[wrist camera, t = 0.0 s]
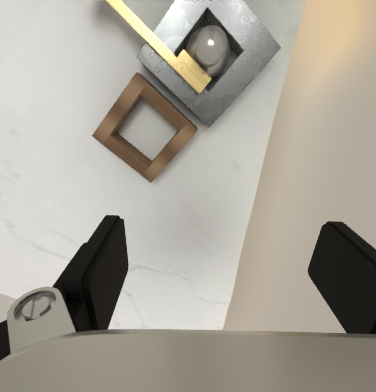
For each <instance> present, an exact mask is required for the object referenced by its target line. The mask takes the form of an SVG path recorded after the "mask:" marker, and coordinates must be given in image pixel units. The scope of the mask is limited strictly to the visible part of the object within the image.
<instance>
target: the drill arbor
mask: <svg viewBox="0 0 376 392" xmlns="http://www.w3.org/2000/svg"><path fill="white" fill-rule="evenodd" d="M186 52H187V53H188V54H189V55H190V57H191V58H192V59H193V60H194V61H195V62H196V63H197V64H198V65H199V66H200V67H201V68H202V69H203V70H204V71H205V72H206V73H207V74H208V75H209V76H210V78H212V77H214V76H216V75H217V74H219V73H220V72H221V71H222V70H223V69H224V68H225V66H226V64H227V62H228V59H229V55H230V47H229V42H228V40H227V37H226V34H225V32H224V31H223V30H222V29H221V28H220V27H218V26H215V25H209V26H205V27H202V28H200V29H198V30H196V31H195V32H194V33H193V34H192V36H191V37H190V39H189V41H188V44H187V48H186Z"/></svg>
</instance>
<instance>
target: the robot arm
mask: <svg viewBox="0 0 376 392" xmlns="http://www.w3.org/2000/svg"><path fill="white" fill-rule="evenodd" d="M127 271H128V255H127V246H126V236H125V227H124V220H123V219H120V217H119V216H116V215H106V216H105V217H104V219H103V220H102V222H101V223H100V224H99V226H98V227H97V229H96V230H95V232H94V233H93V235H92V236H91V238H90V239H89V240H88V242H87V243H84V244H83V245H82V246H81V247H80V249H79V250H78V251H77V253H76V254H75V256H74V257H73V258H72V260H71V261H70V263H69V264H68V265H67V267H66V268H65V270H64V271H63V273H62V274H61V275H60V277H59V278H58V280H57V281H56V282H55V284H54V285H53V287H42V288H38V289H35V290H32V291H30V292H28V293H26V294H24V295H23V296H21V297H20V298H19V299H17V300H16V301H15V302H14V303H13V305H11V307H10V309H9V311H8V313H7V320H5V321H3V322H1V323H0V392H376V250H375V249H374V248H373V247H372V246H371V245H370V244H368V243H367V242H366V241H365V240H363V239H362V238H361V237H360V236H358V234H356V233H355V232H354V231H353V230H351V229H350V228H349V227H348V226H347V225H346V224H344V223H343V222H331V221H329V222H327V223H326V224H324V225H323V226H322V228H321V231H320V234H319V237H318V240H317V243H316V246H315V249H314V252H313V255H312V258H311V261H310V265H309V267H308V274H309V276H310V278H311V280H312V281H313V283H314V284H315V285H316V287H317V289H318V290H319V292H320V293H321V295H322V296H323V298H324V299H325V301H326V302H327V304H328V305H329V307H330V308H331V310H332V312H333V313H334V315H335V316H336V318H337V319H338V321H339V322H340V324H341V325H342V327H343V328H344V330H345V331H346V333H312V332H273V331H271V332H270V331H229V330H228V331H227V330H173V329H111V330H107V329H108V326H109V324H110V321H111V318H112V315H113V312H114V309H115V306H116V303H117V300H118V298H119V295H120V292H121V289H122V286H123V283H124V280H125V277H126V275H127Z"/></svg>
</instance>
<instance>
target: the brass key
mask: <svg viewBox="0 0 376 392" xmlns="http://www.w3.org/2000/svg"><path fill="white" fill-rule="evenodd" d="M106 1H107V2H108V3H109V4H110V5H111V6H112V7H113V8H114V9H115V10H116V11H117V12H118V13H119V14H120V15H121V16H122V17H123V18H124V19H125V20H126V21H127V22H128V23H129V24H130V25H131V26H132V27H133V28H134V29H135V30H136V31H137V32H138V33H139V34H140V35H141V36H142V37H143V38H144V39H145V40H146V41H147V42H148V43H149V44H150V45H151V46H152V47H153V48H154V49H155V50H156V51H157V52H158V53H159V54H160V55H161V56H162V57H163V58H164V59H165V60H166V61H167V62H168V63H169V64H170V65H171V66H172V67H173V68H174V69H175V70H176V71H177V72H178V73H179V74H180V75H181V76H182V77H183V78H184V79H185V80H186V81H187V82H188V83H189V84H190V85H191V86H192V87H193V88H194V89H195V90H196V91H197V92H198V93H199V94H200V93H201V92H202V90H203V89H204V88H205V87H206V86H207V84H208V83H209V82H210V81H211V80H212V79H211V78H210V76H209V75H208V74H207V73H206V72H205V71H204V70H203V69H202V68H201V67H200V66H199V65H198V64H197V63H196V62H195V61H194V60H193V59H192V58H191V57H190V55H189V54H188V53H187V52H186V51H185V50H184V49H183V50H182V52H181V53H180V54H179V56H178V57H176V56H175V55H174V54H173V53H172V52H171V51H170V50H169V49H168V48H167V47H166V46H165V45H164V44H163V43H162V42H161V41H160V40H159V39H158V38H157V37H156V36H155V35H154V34H153V33H152V32H151V31H150V30H149V29H148V28H147V27H146V26H145V24H144V23H143V22H142V21H141V20H140V19H139V18H138V17H137V16H136V15H135V14H134V13H133V12H132V11H131V10H130V9H129V8H128V7H127V6H126V5H125V4H124V3H123V2H122V1H121V0H106Z"/></svg>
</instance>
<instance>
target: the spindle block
mask: <svg viewBox="0 0 376 392" xmlns="http://www.w3.org/2000/svg"><path fill="white" fill-rule="evenodd" d="M205 17H206V18H207V19H208V20H209V22H210V23H211V24H212V25H215V26H218V27H220V28H221V29H222V30H223V31H224V32H225V34H226V37H227V40H228V42H229V45H230V46H231V47H232V48H233V49H234V50H235V51H236V53H237V54H238V56H237V57H236V58H235V60H234V61H233V62H232V63H231V64H230V65H229V67H228V68H227V69H226V70H225V71H224V73H223V74H222V75H221V76H220V77H219V79H218V80H217V81H216V82H215V83H214V84H213V86H212V87H211V88H210V89H209V90H208V91H207V90H206V89H205V88H204V89H203V90H202V92H201V93H200V94H199V93H198V92H197V91H196V90H195V89H194V88H193V87H192V86H191V85H190V84H189V83H188V82H187V81H186V80H185V79H184V78H183V77H182V76H181V75H180V74H179V73H178V72H177V71H176V70H175V69H174V68H173V67H172V66H171V65H170V64H169V63H168V62H167V61H166V60H165V59H164V58H163V57H162V56H161V55H160V54H159V53H158V52H157V51H156V50H155V49H154V48H153V47H152V46H151V45H150V44H149V43H148V42H146V44H145V45H144V47H143V48H142V50H141V51H140V53H139V54H138V55H137V58H138V59H139V60H140V61H141V62H142V63H143V64H144V65H145V66H146V67H147V68H148V69H149V70H150V71H151V72H152V73H153V74H154V75H155V76H156V77H157V78H158V79H159V80H160V81H161V82H163V83H164V84H165V85H166V86H167V87H168V88H169V89H170V90H171V91H172V92H173V93H174V94H175V95H176V96H177V97H178V98H179V99H180V100H181V101H182V102H183V103H184V104H185V105H186V106H187V107H188V108H190V109H191V110H192V111H193V112H194V113H195V114H196V115H197V116H198V117H199V118H200V119H201V120H202V121H203V122H204V123H205V124H206V125H207V126H208V127H210V126H211V125H212V124H213V123H214V122H215V120H216V119H217V118H218V117H219V116H220V115H221V114H222V113H223V112H224V110H225V109H226V108H227V107H228V106H229V105H230V104H231V103H232V102H233V100H234V99H235V98H236V97H237V96H238V95H239V94H240V93H241V92H242V90H243V89H244V88H245V87H246V86H247V85H248V84H249V83H250V82H251V81H252V79H253V78H254V77H255V76H256V75H257V74H258V73H259V72H260V71H261V69H262V68H263V67H264V66H265V65H266V64H267V63H268V62H269V61H270V59H271V58H272V57H273V56H274V55H275V54H276V53H277V52H278V51H279V49H280V48H281V47H280V46H279V44H278V43H277V42H276V41H275V39H274V38H273V37H272V36H271V34H270V33H269V32H268V31H267V29H266V28H265V27H264V26H263V24H262V23H261V22H260V21H259V19H258V18H257V17H256V16H255V14H254V13H253V12H252V11H251V9H250V8H249V7H248V6H247V4H246V3H245V2H244V1H243V0H175V1H174V3H173V4H172V6H171V7H170V9H169V10H168V11H167V13H166V14H165V16H164V17H163V19H162V20H161V22H160V23H159V25H158V26H157V28H156V29H155V31H154V32H153V34H154V35H155V36H156V37H157V38H158V39H159V40H160V41H161V42H162V43H163V44H164V45H165V46H166V47H167V48H168V49H169V50H170V51H171V52H172V53H173V54H174V55H175V56H176V55H177V54H178V53H179V51H180V50H181V49H182V47H183V46H184V45H185V43H186V42H187V41H188V39H189V38H190V37H191V35H192V34H193V33H194V31H195V30H196V29H197V27H198V26H199V25H200V23H201V22H202V21H203V19H204V18H205Z"/></svg>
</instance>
